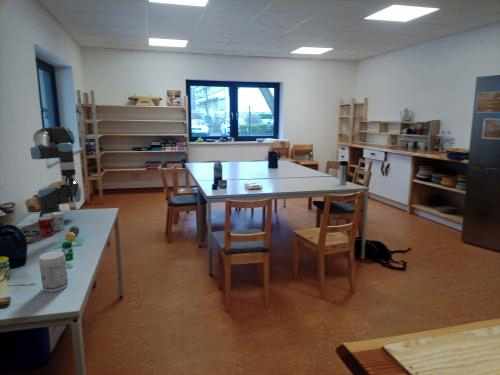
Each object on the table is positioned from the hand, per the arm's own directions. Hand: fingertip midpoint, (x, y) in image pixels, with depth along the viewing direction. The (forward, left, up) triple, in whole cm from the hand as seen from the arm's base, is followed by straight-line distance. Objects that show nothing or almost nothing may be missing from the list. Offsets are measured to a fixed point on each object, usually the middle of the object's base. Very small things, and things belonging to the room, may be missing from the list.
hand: (72, 206), depth 219 cm
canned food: (-1, -16, -17) cm, 23 cm away
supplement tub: (+77, +4, -17) cm, 79 cm away
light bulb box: (-10, -14, -17) cm, 24 cm away
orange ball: (+17, 0, -14) cm, 22 cm away
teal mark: (+19, 0, -16) cm, 25 cm away
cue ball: (+5, 0, -14) cm, 15 cm away
